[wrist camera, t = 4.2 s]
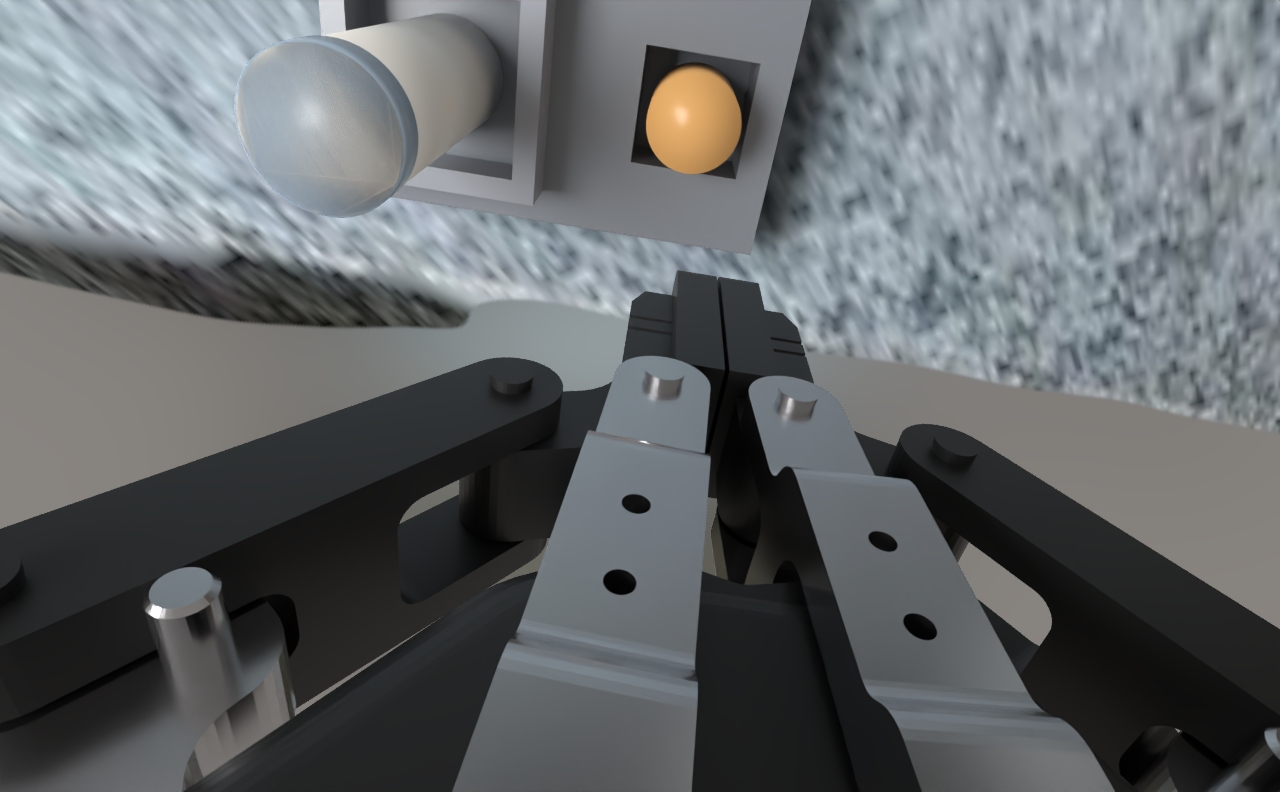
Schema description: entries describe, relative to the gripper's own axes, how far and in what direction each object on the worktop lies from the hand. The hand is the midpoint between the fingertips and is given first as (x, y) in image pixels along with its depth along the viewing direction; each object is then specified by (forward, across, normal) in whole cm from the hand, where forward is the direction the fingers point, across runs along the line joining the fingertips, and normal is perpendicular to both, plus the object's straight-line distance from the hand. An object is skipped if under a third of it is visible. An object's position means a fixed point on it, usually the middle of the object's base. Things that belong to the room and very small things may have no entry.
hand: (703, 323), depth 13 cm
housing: (+26, +6, 0) cm, 26 cm away
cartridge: (+22, +11, 0) cm, 24 cm away
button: (+23, 0, 0) cm, 23 cm away
